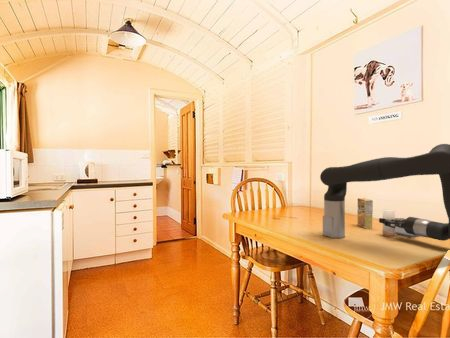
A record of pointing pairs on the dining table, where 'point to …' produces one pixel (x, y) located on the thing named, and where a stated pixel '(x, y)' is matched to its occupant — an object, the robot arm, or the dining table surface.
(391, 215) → the white cylindrical lamp
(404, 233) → the mat
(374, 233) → the dining table surface
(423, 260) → the dining table surface
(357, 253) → the dining table surface
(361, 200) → the candy box
